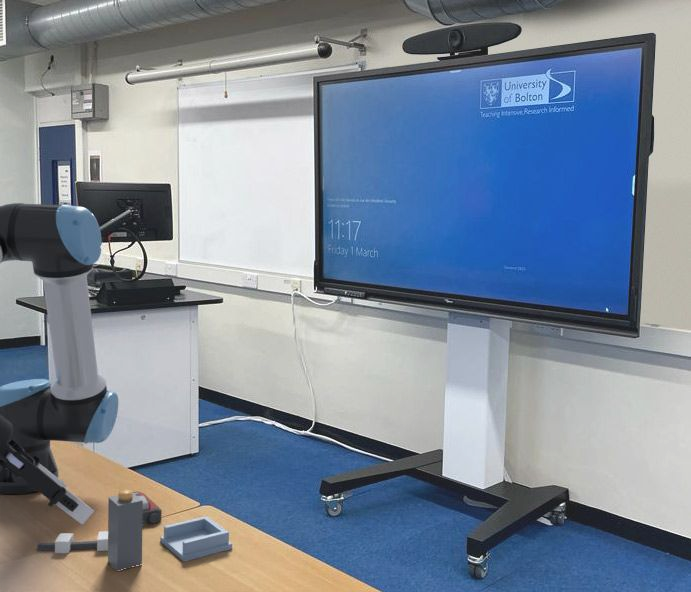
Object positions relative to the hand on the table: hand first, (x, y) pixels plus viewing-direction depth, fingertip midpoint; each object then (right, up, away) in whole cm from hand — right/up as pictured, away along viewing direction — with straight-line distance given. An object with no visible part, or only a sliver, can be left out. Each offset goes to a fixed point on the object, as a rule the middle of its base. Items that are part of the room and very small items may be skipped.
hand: (74, 503), depth 130 cm
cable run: (-3, -12, +13) cm, 18 cm away
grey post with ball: (+6, -13, +7) cm, 16 cm away
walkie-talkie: (+4, -11, +26) cm, 29 cm away
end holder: (+18, -12, +16) cm, 27 cm away
